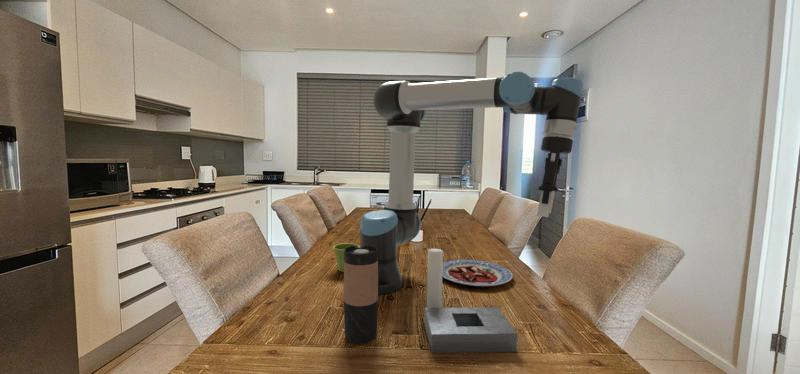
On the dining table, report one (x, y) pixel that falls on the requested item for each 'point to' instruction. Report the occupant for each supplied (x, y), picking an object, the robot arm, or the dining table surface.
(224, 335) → the dining table surface
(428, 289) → the peg
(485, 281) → the ceramic plate
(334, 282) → the dining table surface
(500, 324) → the hole block
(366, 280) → the travel mug
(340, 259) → the plant pot
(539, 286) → the dining table surface
